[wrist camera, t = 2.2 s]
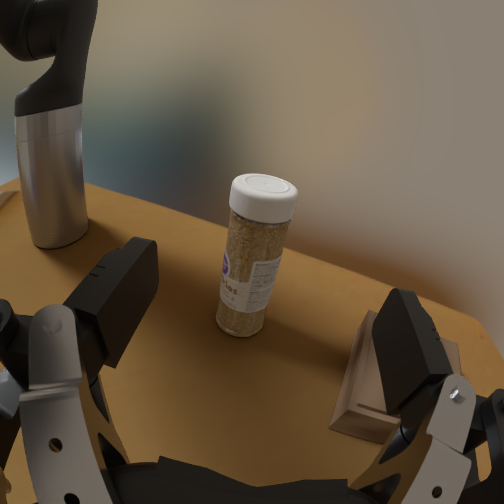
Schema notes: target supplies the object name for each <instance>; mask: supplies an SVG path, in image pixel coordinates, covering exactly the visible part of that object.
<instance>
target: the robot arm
mask: <svg viewBox="0 0 504 504" xmlns="http://www.w3.org/2000/svg"><path fill="white" fill-rule="evenodd" d="M97 7H98V0H0V44H1V45H2V46H3V47H4V48H5V49H6V50H7V51H8V52H9V53H10V54H11V55H12V56H13V57H14V58H16V59H18V60H20V61H35V60H39V59H44V58H48V57H53V56H55V59H54V62H53V64H52V66H51V67H50V69H49V70H48V71H47V72H46V73H45V74H44V75H43V76H42V77H40V78H39V79H38V80H37V81H36V82H34V83H33V84H31V85H29V86H28V87H26V88H25V89H24V90H22V91H21V92H19V93H18V95H17V96H16V99H15V138H16V151H17V161H18V169H19V177H20V184H21V190H22V196H23V202H24V207H25V212H26V217H27V221H28V225H29V229H30V233H31V237H32V241H33V243H34V244H35V245H36V246H38V247H41V248H58V247H62V246H65V245H68V244H70V243H72V242H74V241H76V240H78V239H79V238H80V237H82V236H83V235H84V234H85V233H86V231H87V229H88V226H89V223H88V216H87V208H86V198H85V188H84V177H83V160H82V126H81V125H82V96H83V86H84V79H85V71H86V63H87V56H88V50H89V45H90V41H91V36H92V32H93V28H94V23H95V19H96V14H97ZM158 283H159V274H158V254H157V244H156V241H154V240H149V239H144V238H139V237H133V238H131V239H130V241H129V242H128V243H127V244H126V245H125V246H124V247H123V248H122V249H119V248H117V249H115V250H114V251H112V252H110V253H108V254H106V255H105V256H104V257H103V258H102V259H101V260H100V261H99V262H98V263H97V265H96V267H94V268H93V269H92V270H91V271H90V272H89V275H87V276H86V277H85V278H84V279H83V280H82V282H81V283H80V284H79V285H78V286H77V287H76V289H75V290H74V291H73V292H72V293H71V295H70V296H69V297H68V298H67V300H66V301H65V302H64V303H63V304H62V305H60V304H53V305H48V306H46V307H44V308H42V309H40V310H39V311H38V312H37V313H36V314H35V315H34V316H27V315H18V314H15V313H14V311H13V309H12V307H11V305H10V303H9V302H8V301H6V300H4V299H0V361H1V363H2V364H3V365H4V368H3V369H2V371H1V373H0V504H7V500H6V494H9V493H10V492H11V484H10V482H9V480H8V479H7V478H5V475H4V472H3V471H4V468H5V465H6V462H7V459H8V457H9V454H10V451H11V448H12V446H13V443H14V441H15V438H16V436H17V433H18V431H19V428H20V426H21V428H22V435H23V442H24V448H25V453H26V458H27V463H28V468H29V472H30V476H31V480H32V484H33V488H34V491H35V494H36V498H37V501H38V502H37V503H34V504H504V390H503V389H497V390H495V391H494V392H493V393H492V394H491V395H490V396H489V397H488V398H486V397H482V396H479V395H476V394H475V391H474V388H473V386H472V385H471V383H470V382H469V381H468V380H467V379H466V378H464V377H463V376H461V375H457V374H454V373H453V370H452V367H451V364H450V362H449V359H448V356H447V354H446V351H445V349H444V346H443V344H442V341H440V336H439V334H438V332H436V327H435V325H434V323H433V320H432V318H431V317H430V316H429V314H428V313H427V312H426V311H425V310H424V308H423V307H422V306H421V304H420V302H419V300H418V298H417V296H416V294H415V292H413V291H409V290H403V289H398V288H394V289H392V290H391V291H390V293H389V295H388V297H387V299H386V300H385V302H384V304H383V306H382V308H381V309H380V311H379V313H378V315H377V316H376V318H375V320H374V322H373V326H372V339H373V344H374V348H375V353H376V357H377V362H378V367H379V372H380V377H381V382H382V388H383V393H384V399H385V405H386V412H387V415H400V418H401V420H400V421H398V422H397V424H396V425H395V427H394V428H393V430H392V432H391V434H390V435H389V437H388V439H387V441H386V442H385V444H384V446H383V447H382V449H381V450H380V452H379V454H378V455H377V457H376V458H375V460H374V461H373V463H372V464H371V466H370V467H369V468H368V469H367V470H366V471H365V472H364V473H362V474H361V475H360V476H359V477H358V478H357V479H356V480H355V481H354V482H353V483H352V484H351V486H350V487H347V479H332V480H300V481H295V482H290V483H284V484H277V485H270V486H262V487H254V486H250V485H247V484H244V483H242V482H239V481H237V480H234V479H231V478H229V477H227V476H224V475H222V474H219V473H217V472H215V471H213V470H210V469H208V468H205V467H201V466H196V465H192V464H188V463H184V462H180V461H177V460H173V459H170V458H166V457H163V456H160V457H159V460H158V463H156V462H139V463H130V461H129V459H128V456H127V454H126V451H125V449H124V446H123V444H122V442H121V440H120V438H119V436H118V434H117V432H116V430H115V427H114V424H113V421H112V418H111V415H110V411H109V408H108V404H107V401H106V397H105V393H104V389H103V385H102V381H101V377H100V374H99V372H100V370H101V368H102V366H103V364H104V365H107V366H109V367H112V368H116V366H117V364H118V362H119V360H120V358H121V356H122V354H123V353H124V351H125V349H126V347H127V345H128V343H129V341H130V339H131V338H132V336H133V334H134V332H135V330H136V328H137V326H138V325H139V323H140V321H141V319H142V317H143V316H144V314H145V312H146V310H147V309H148V307H149V305H150V303H151V302H152V300H153V298H154V296H155V294H156V292H157V288H158ZM485 441H488V446H489V452H490V459H491V466H492V469H491V473H490V475H489V476H488V478H487V479H486V480H484V481H482V482H480V480H479V477H478V467H477V460H476V453H475V448H476V447H478V446H479V445H481V444H482V443H484V442H485Z"/></svg>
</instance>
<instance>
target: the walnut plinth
mask: <svg viewBox="0 0 504 504" xmlns="http://www.w3.org/2000/svg"><path fill="white" fill-rule="evenodd" d="M377 315H378V313H376V312H373V311H371V310H369V311H368V313H367V314H366V316H365V318H364V320H363V321H362V323H361V325H360V326H359V328H358V330H357V331H356V333H355V335H354V339H353V343H352V347H351V351H350V356H349V359H348V363H347V367H346V371H345V375H344V378H343V382H342V385H341V389H340V392H339V396H338V399H337V402H336V405H335V408H334V412H333V415H332V418H331V421H330V424H329V426H328V428H329V429H332V430H335V431H338V432H342V433H345V434H348V435H351V436H355V437H358V438H361V439H365V440H369V441H372V442H376V443H380V444H385V442H386V441H387V439H388V437H389V435H390V434H391V432H392V430H393V428H394V427H395V425H396V424H397V422H398V421H400V420H401V418H400V415H387V412H386V405H385V399H384V393H383V388H382V382H381V377H380V372H379V367H378V362H377V357H376V353H375V348H374V344H373V339H372V326H373V322H374V320H375V318H376V316H377ZM440 341H442V344H443V346H444V349H445V351H446V354H447V356H448V359H449V362H450V364H451V367H452V370H453V373H454V374H457V375H461V365H460V357H459V350H458V344H457V343H454V342H451V341H449V340H446V339H443V338H441V337H440ZM461 376H462V375H461Z"/></svg>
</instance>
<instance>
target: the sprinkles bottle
mask: <svg viewBox="0 0 504 504" xmlns="http://www.w3.org/2000/svg"><path fill="white" fill-rule="evenodd" d="M297 200H298V191H297V189H296V188H295V187H294V186H293V185H292V184H290V183H289V182H287V181H285V180H283V179H280V178H277V177H273V176H269V175H263V174H244V175H240V176H238V177H236V178H235V179H234V180H233V182H232V187H231V193H230V200H229V204H230V211H231V216H230V223H229V229H228V238H227V244H226V248H225V254H224V261H223V269H222V276H221V283H220V296H219V304H218V309H217V311H216V321H217V323H218V325H219V327H220V328H221V329H222V330H223V331H225V332H226V333H228V334H230V335H233V336H236V337H249V336H251V335H254V334H256V333H257V332H259V331H260V329H261V328H262V326H263V323H264V315H265V311H266V307H267V304H268V303H269V300H270V297H271V293H272V289H273V286H274V282H275V279H276V275H277V271H278V267H279V264H280V260H281V256H282V252H283V245H284V241H285V238H286V233H287V230H288V225H289V223H290V221H291V218H292V217H293V216H294V212H295V209H296V204H297Z"/></svg>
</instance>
